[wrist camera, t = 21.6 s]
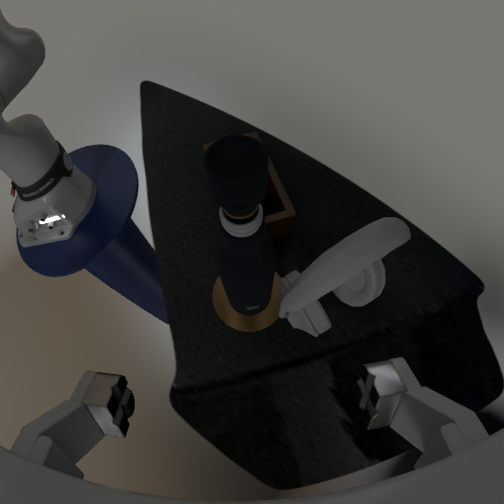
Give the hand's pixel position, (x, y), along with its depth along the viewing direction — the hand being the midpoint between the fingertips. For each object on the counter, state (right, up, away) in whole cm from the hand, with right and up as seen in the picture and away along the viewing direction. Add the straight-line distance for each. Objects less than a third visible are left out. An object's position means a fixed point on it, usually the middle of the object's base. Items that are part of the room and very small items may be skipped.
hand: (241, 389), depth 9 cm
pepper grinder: (0, -2, +35) cm, 35 cm away
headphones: (+12, -2, +35) cm, 37 cm away
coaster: (0, -2, +36) cm, 36 cm away
